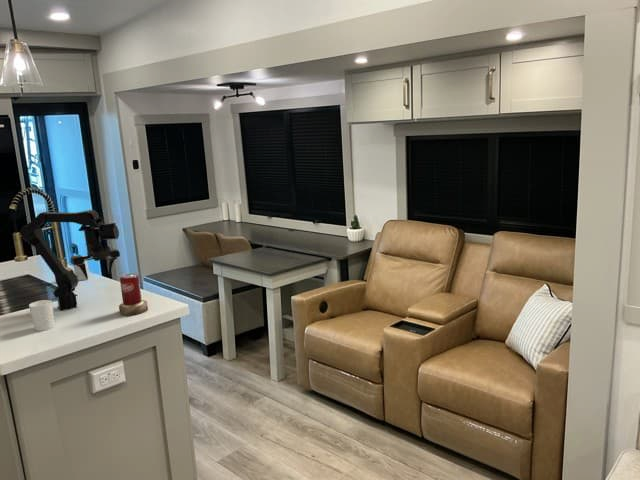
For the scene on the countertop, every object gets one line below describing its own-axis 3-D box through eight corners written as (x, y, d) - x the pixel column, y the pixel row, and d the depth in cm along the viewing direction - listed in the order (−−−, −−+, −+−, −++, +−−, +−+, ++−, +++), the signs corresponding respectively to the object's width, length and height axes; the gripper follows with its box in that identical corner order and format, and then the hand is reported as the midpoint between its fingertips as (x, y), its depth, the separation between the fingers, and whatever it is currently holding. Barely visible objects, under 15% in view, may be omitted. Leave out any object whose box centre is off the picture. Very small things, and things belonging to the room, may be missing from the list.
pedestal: (125, 317, 209) (124, 310, 209) (116, 311, 218) (115, 304, 217) (152, 310, 216) (151, 303, 215) (142, 304, 225) (141, 297, 224)
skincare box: (90, 277, 274) (86, 255, 272) (88, 280, 270) (84, 257, 267) (77, 278, 273) (74, 256, 271) (75, 281, 269) (71, 258, 266)
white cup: (38, 325, 207) (34, 300, 205) (59, 323, 208) (55, 299, 206) (29, 332, 199) (25, 307, 197) (51, 330, 200) (46, 305, 198)
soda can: (131, 307, 212) (127, 278, 209) (119, 305, 215) (115, 277, 213) (145, 302, 218) (142, 274, 215) (133, 300, 221) (130, 272, 219)
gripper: (74, 247, 209) (80, 284, 213) (121, 239, 221) (126, 275, 224) (67, 243, 218) (73, 279, 221) (113, 235, 229) (118, 270, 232)
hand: (98, 276), depth 224 cm, fingers open, 9 cm apart
